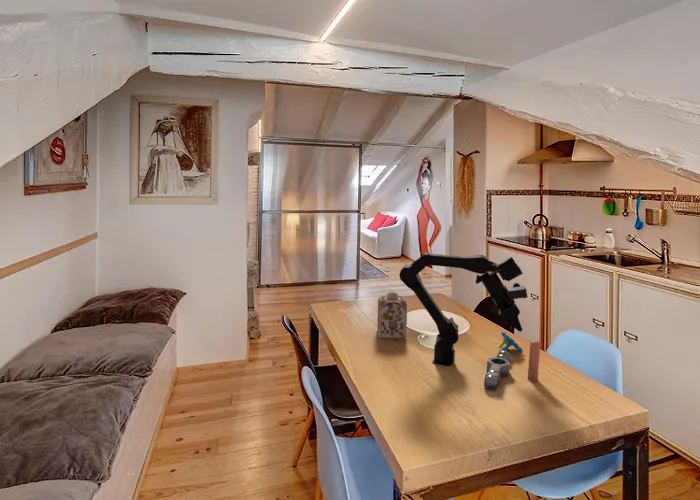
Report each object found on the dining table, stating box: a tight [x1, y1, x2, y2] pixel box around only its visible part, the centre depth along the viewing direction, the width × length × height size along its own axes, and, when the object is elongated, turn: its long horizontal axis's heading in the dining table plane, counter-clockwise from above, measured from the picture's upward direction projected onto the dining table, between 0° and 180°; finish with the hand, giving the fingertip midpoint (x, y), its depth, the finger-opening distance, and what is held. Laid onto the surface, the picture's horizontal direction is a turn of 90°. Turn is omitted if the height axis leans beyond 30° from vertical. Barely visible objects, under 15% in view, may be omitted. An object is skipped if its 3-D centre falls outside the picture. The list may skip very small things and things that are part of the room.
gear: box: [498, 331, 524, 353], centre depth 165 cm, size 11×6×10 cm
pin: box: [527, 339, 541, 383], centre depth 140 cm, size 3×3×13 cm
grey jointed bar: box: [483, 349, 511, 392], centre depth 145 cm, size 7×30×4 cm, turn 152°
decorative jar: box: [377, 292, 408, 339], centre depth 182 cm, size 12×12×18 cm
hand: (519, 326), depth 147 cm, fingers open, 9 cm apart
